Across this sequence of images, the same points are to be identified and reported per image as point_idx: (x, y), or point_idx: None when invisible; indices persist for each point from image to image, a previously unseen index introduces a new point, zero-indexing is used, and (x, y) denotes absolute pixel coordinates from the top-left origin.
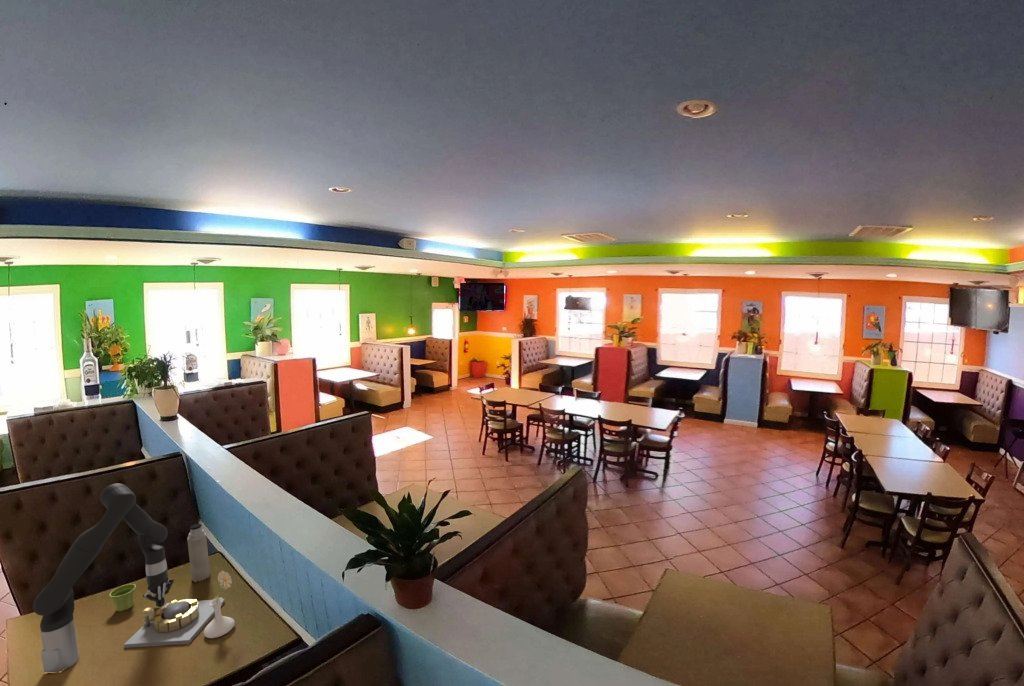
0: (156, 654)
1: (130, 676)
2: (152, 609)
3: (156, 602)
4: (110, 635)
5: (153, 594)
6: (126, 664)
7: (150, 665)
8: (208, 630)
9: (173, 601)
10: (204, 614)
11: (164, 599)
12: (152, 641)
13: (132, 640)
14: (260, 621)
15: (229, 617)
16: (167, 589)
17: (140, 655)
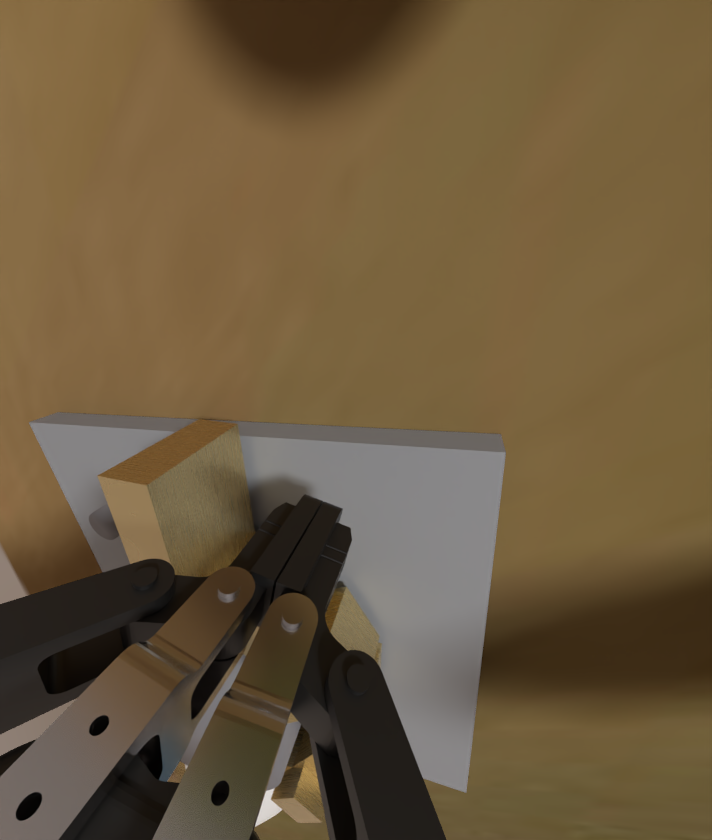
0: None
1: (3, 545)
2: (145, 559)
3: (246, 551)
4: (78, 159)
5: (126, 662)
6: (17, 497)
7: (57, 586)
8: (185, 765)
9: None
10: None
11: (330, 599)
12: (103, 564)
13: (67, 453)
14: (311, 826)
15: (267, 819)
16: (327, 808)
17: (67, 526)
